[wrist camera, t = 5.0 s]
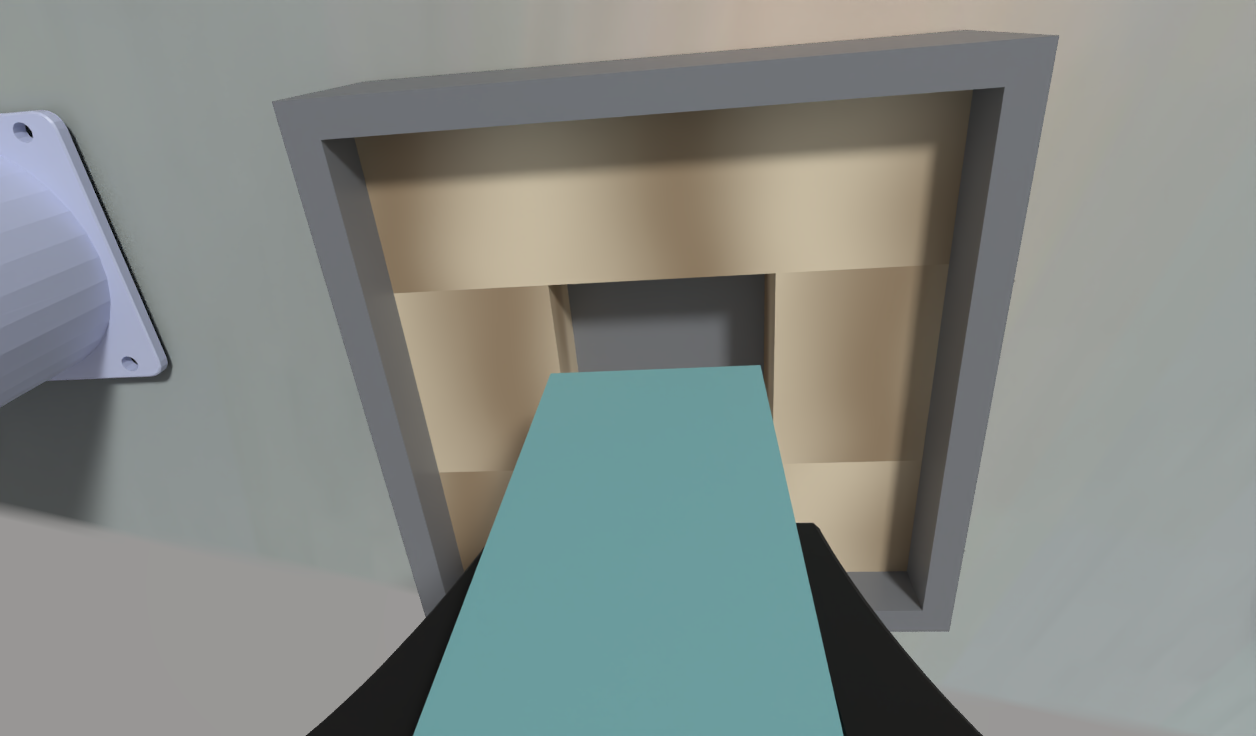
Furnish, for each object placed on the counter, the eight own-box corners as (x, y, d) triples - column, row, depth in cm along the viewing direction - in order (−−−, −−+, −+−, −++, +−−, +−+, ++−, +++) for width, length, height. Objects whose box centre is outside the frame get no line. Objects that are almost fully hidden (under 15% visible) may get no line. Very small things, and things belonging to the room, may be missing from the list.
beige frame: (484, 524, 24) (464, 575, 21) (392, 114, 18) (352, 128, 15) (885, 518, 22) (906, 571, 20) (936, 71, 16) (974, 80, 14)
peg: (574, 535, 15) (475, 999, 8) (550, 373, 13) (395, 783, 6) (759, 532, 15) (832, 1018, 7) (760, 364, 13) (856, 793, 6)
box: (471, 531, 25) (430, 631, 21) (363, 81, 18) (271, 101, 14) (903, 524, 23) (948, 631, 19) (967, 29, 16) (1058, 35, 12)
